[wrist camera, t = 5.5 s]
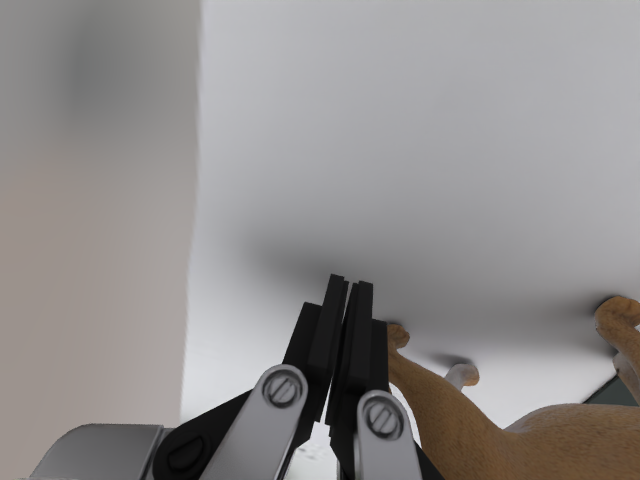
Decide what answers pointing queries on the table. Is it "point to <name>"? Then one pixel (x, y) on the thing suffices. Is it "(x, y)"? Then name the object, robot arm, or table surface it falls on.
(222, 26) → the table surface
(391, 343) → the lion figurine
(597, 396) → the mat
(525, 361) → the table surface
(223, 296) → the table surface
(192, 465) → the robot arm
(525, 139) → the table surface
